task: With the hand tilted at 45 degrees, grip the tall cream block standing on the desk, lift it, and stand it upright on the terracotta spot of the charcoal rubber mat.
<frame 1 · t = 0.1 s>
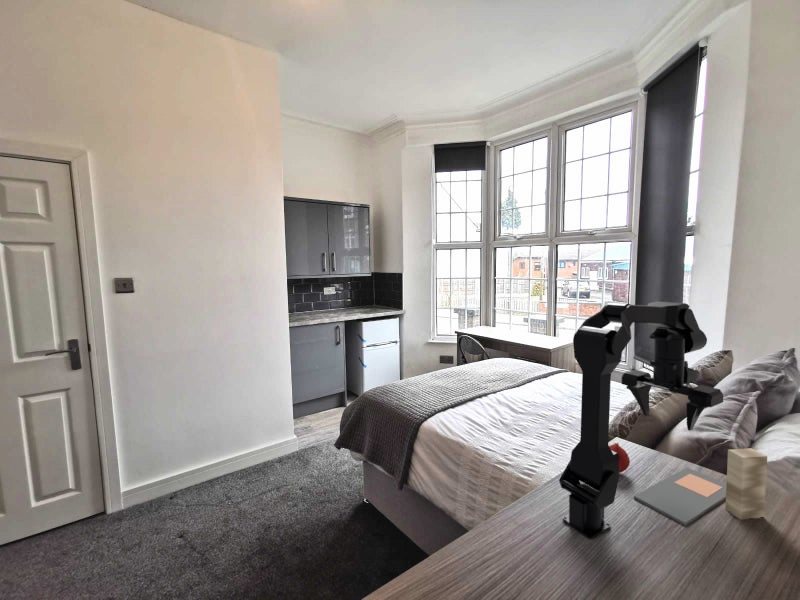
hand: (667, 422, 86), 15 cm above the worktop, tool pointing down, fingers open, 9 cm apart
onion: (615, 473, 92), on the worktop
mat: (686, 494, 83), on the worktop
cream block: (744, 513, 76), on the worktop
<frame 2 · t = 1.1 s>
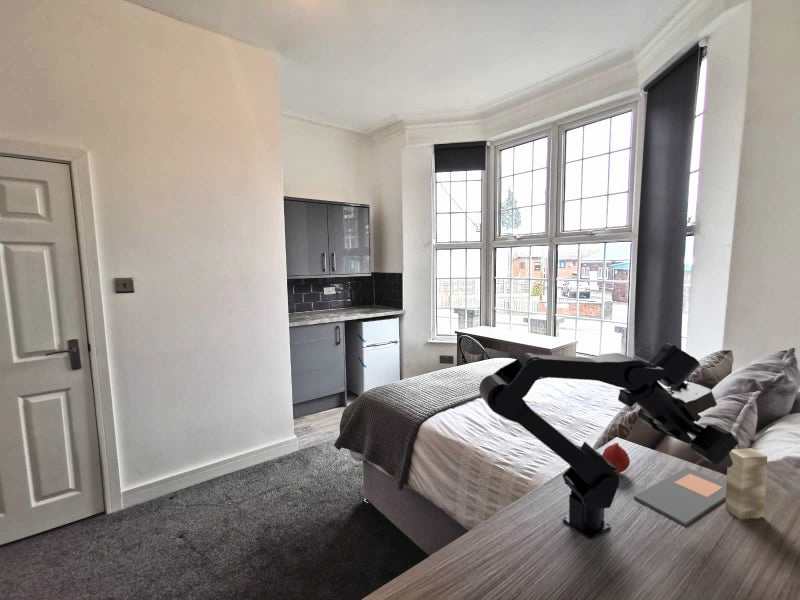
hand: (709, 453, 74), 13 cm above the worktop, tool tilted 45°, fingers open, 9 cm apart
nothing on the worktop moved.
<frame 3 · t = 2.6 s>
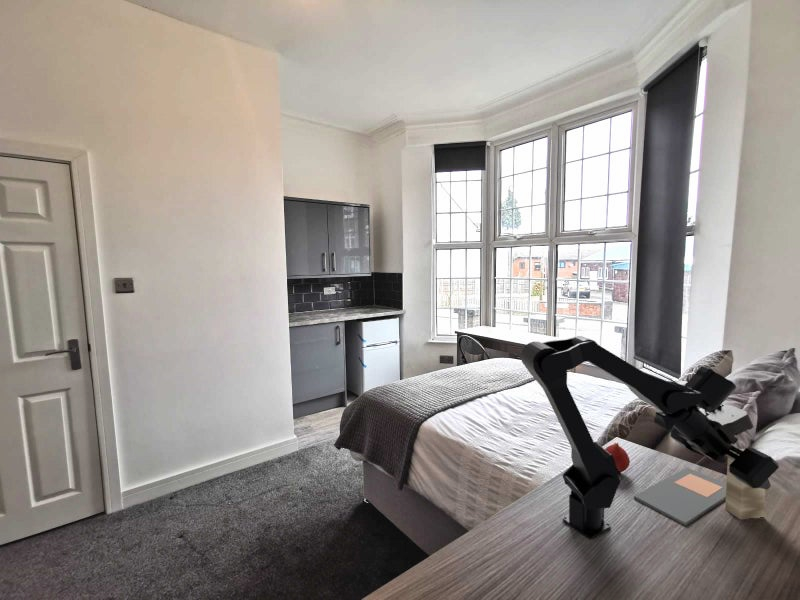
hand: (744, 473, 75), 9 cm above the worktop, tool tilted 45°, fingers open, 9 cm apart
nothing on the worktop moved.
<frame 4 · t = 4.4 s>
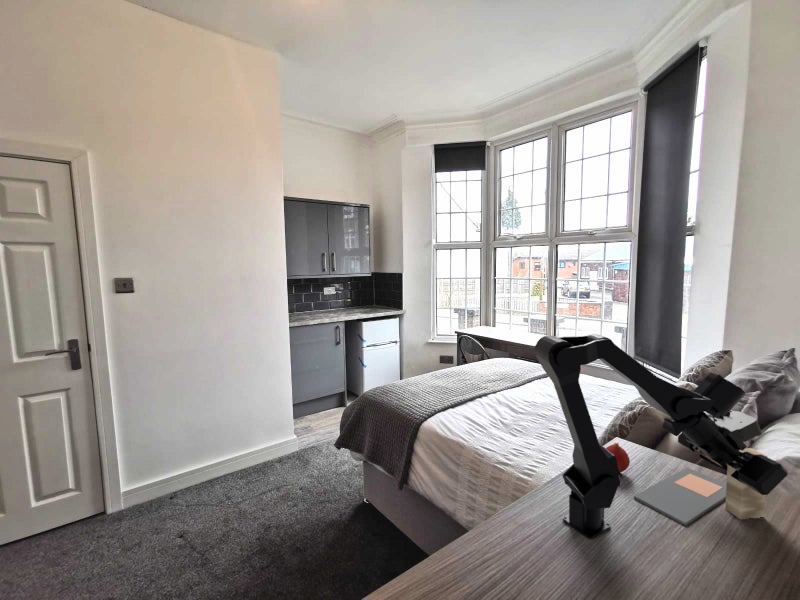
hand: (752, 480, 75), 7 cm above the worktop, tool tilted 45°, fingers closed on cream block, 3 cm apart
cream block: (744, 513, 76), on the worktop, touching gripper
everything else where it was.
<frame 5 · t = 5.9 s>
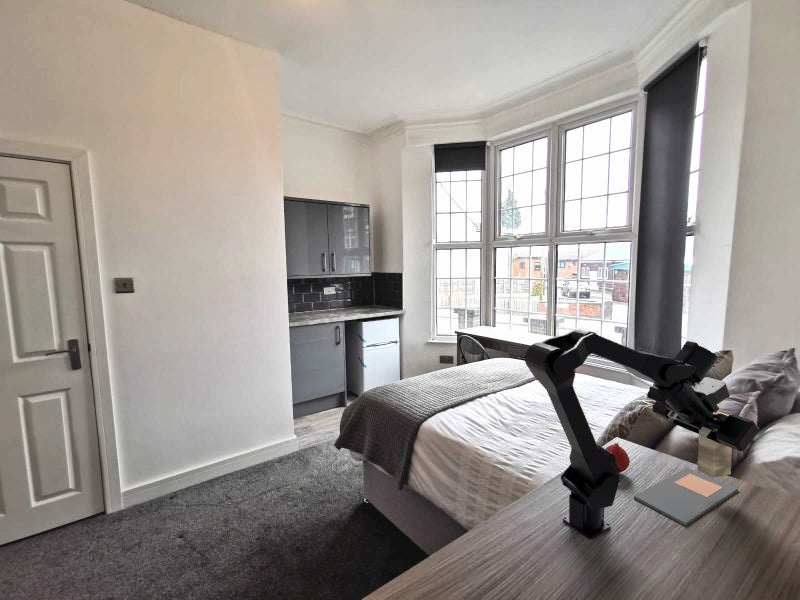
hand: (719, 440, 81), 12 cm above the worktop, tool tilted 45°, fingers closed on cream block, 3 cm apart
cream block: (713, 472, 81), point 5 cm above the worktop, touching gripper
everything else where it was.
when the fingers open (9 cm above the worktop, at t = 7.7 s): cream block drops 1 cm, resting on mat.
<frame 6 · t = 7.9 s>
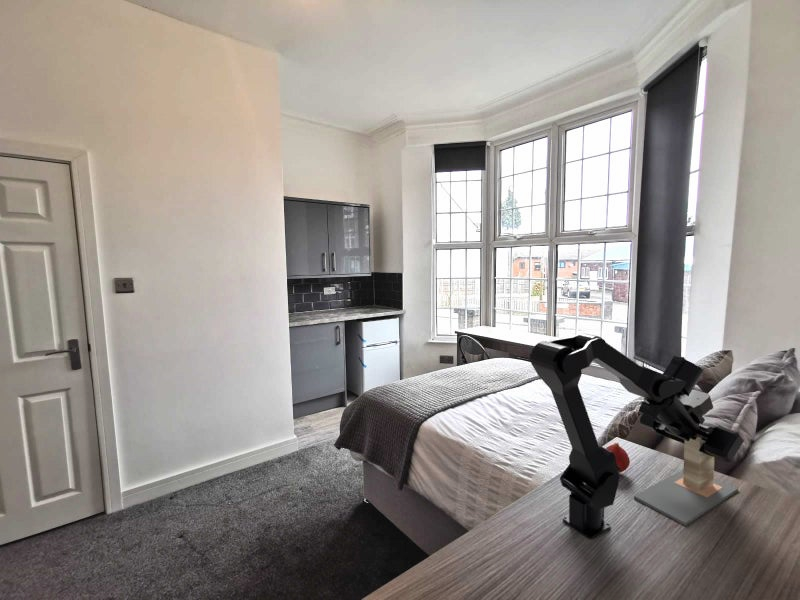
hand: (703, 449, 84), 9 cm above the worktop, tool tilted 45°, fingers open, 5 cm apart
cream block: (698, 484, 85), point 1 cm above the worktop, touching mat
everything else where it was.
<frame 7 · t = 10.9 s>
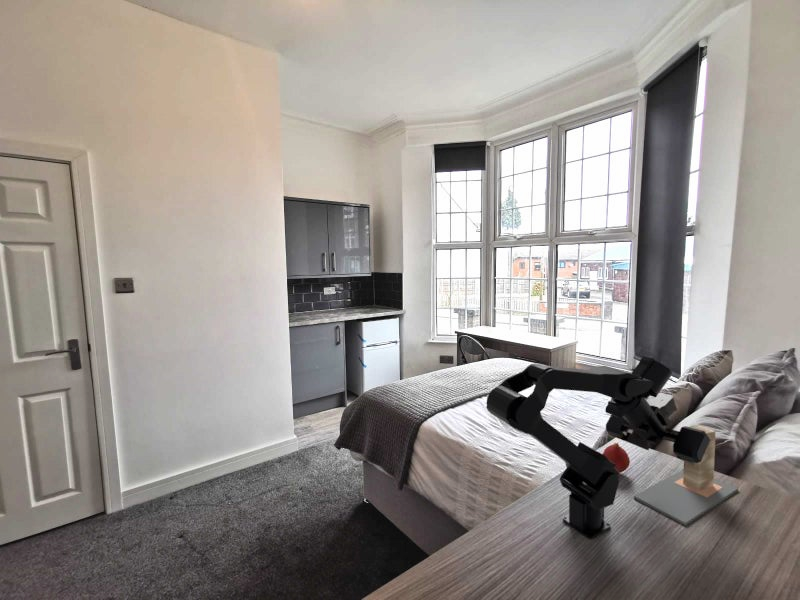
hand: (670, 455, 82), 9 cm above the worktop, tool tilted 40°, fingers open, 9 cm apart
nothing on the worktop moved.
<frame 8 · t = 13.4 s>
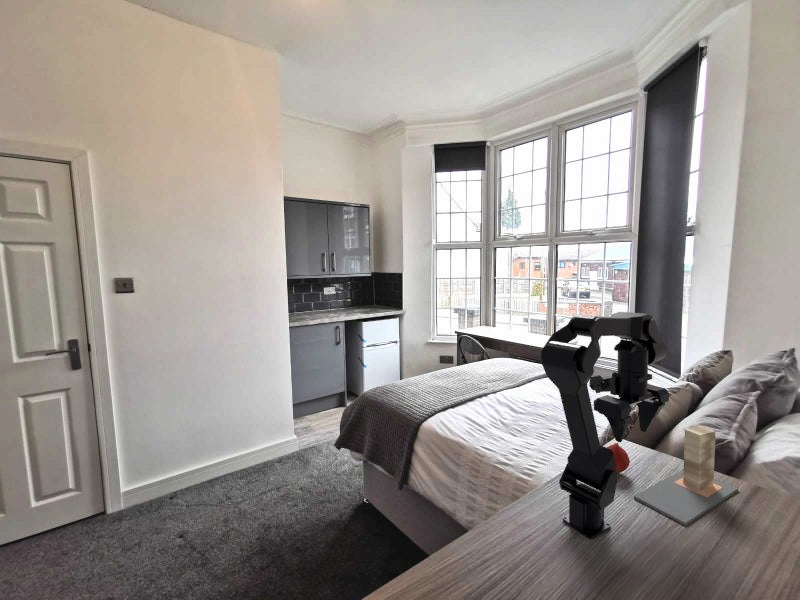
hand: (631, 436, 83), 13 cm above the worktop, tool pointing down, fingers open, 9 cm apart
nothing on the worktop moved.
at the end: cream block inside the target area (0.0 cm from its centre), point 0.7 cm above the worktop; cream block tilted 0°; the gripper is holding nothing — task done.
